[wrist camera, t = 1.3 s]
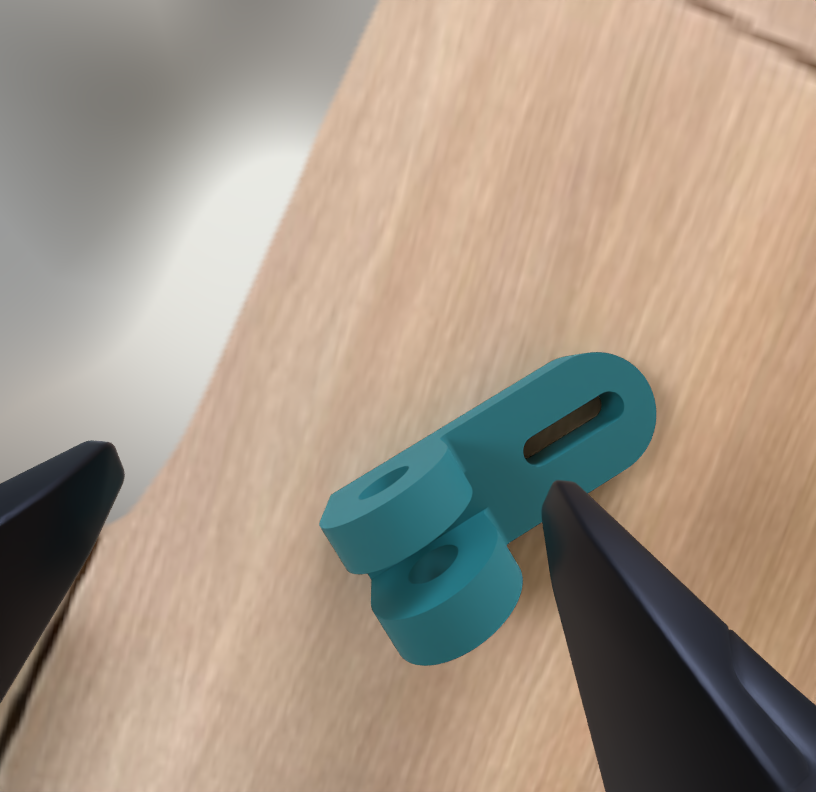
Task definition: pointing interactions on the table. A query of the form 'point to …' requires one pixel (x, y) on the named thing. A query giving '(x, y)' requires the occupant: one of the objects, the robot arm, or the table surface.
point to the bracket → (481, 501)
